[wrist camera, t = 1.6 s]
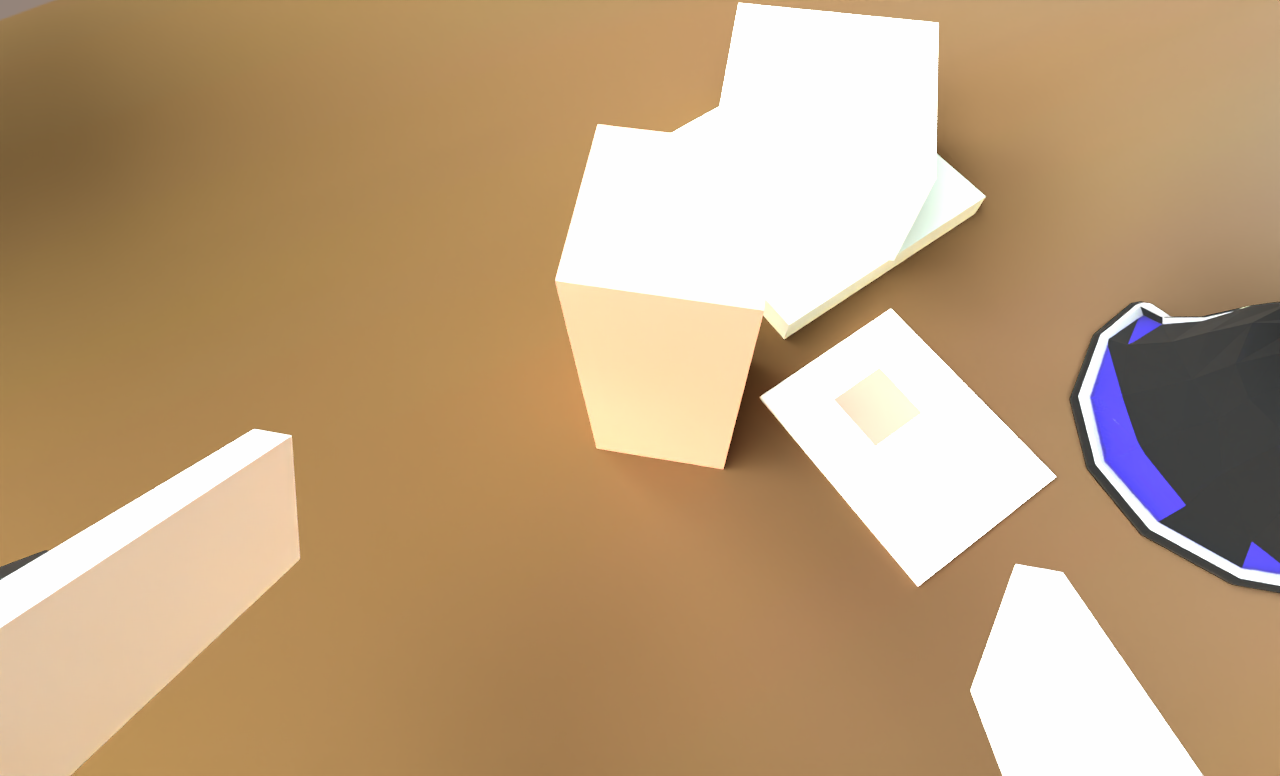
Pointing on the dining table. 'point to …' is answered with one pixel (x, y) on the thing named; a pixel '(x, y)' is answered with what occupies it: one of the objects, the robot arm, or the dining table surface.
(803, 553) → the dining table surface
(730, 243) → the tall brick
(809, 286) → the plate
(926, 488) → the page
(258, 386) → the dining table surface
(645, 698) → the dining table surface
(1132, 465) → the figurine
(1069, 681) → the robot arm
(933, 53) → the base brick
